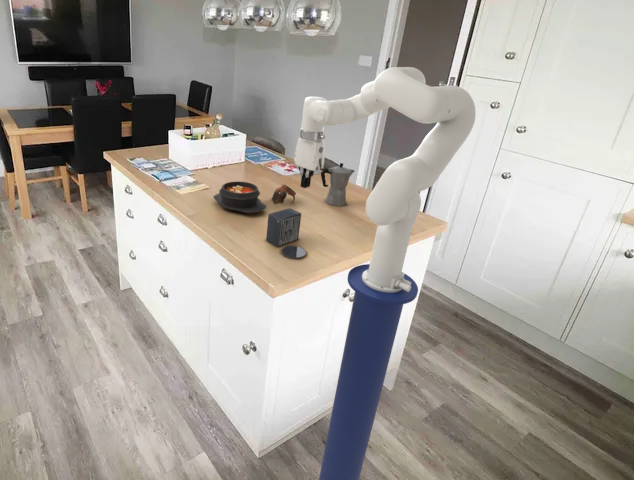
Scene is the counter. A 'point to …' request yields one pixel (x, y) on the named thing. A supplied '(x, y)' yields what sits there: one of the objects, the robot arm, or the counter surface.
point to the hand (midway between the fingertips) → (305, 186)
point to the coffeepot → (337, 184)
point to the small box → (283, 226)
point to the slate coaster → (293, 252)
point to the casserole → (240, 197)
